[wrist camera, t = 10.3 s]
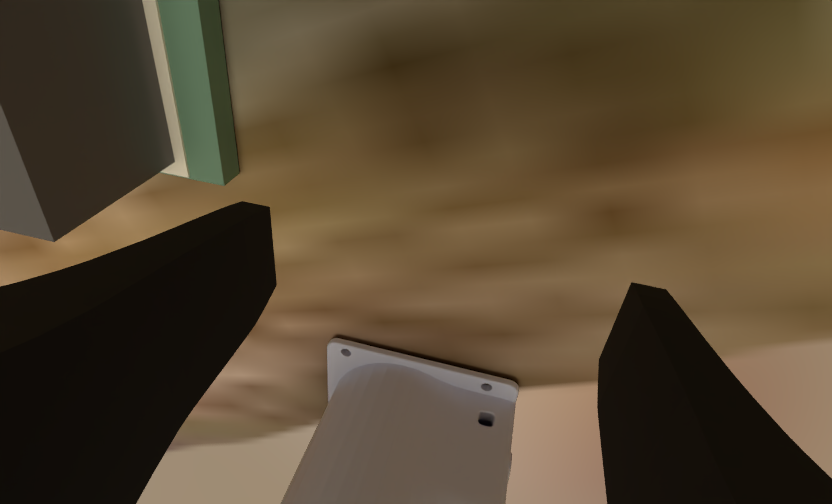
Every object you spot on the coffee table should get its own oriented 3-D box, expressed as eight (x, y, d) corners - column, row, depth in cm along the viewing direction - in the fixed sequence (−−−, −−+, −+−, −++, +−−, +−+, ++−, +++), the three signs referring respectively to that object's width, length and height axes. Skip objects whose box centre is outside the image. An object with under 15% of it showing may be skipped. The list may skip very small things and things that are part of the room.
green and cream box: (203, -119, 16) (86, -126, 12) (239, 173, 22) (168, 232, 18) (-17, -144, 17) (-188, -158, 13) (73, 140, 23) (-28, 188, 19)
